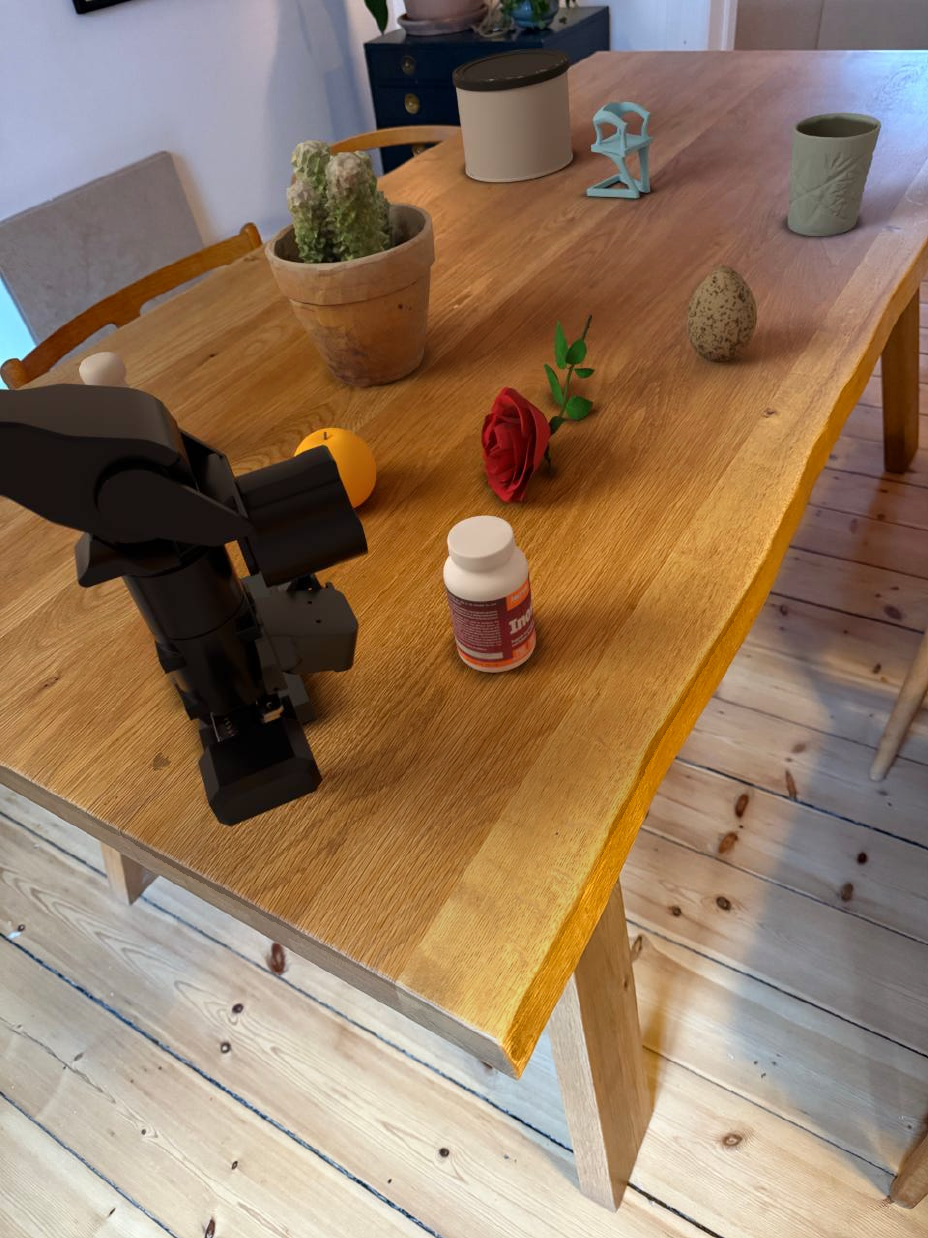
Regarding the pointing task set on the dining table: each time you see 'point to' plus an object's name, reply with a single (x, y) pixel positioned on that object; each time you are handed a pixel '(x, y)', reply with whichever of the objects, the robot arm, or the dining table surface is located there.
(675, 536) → the dining table surface
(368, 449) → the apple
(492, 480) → the flower
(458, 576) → the pill bottle
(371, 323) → the potted plant
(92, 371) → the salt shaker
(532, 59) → the container
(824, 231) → the green embossed vase
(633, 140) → the chair
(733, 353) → the decorative egg
